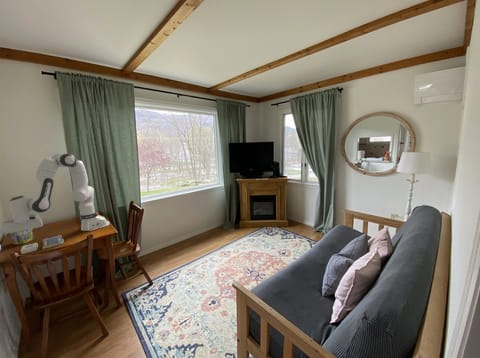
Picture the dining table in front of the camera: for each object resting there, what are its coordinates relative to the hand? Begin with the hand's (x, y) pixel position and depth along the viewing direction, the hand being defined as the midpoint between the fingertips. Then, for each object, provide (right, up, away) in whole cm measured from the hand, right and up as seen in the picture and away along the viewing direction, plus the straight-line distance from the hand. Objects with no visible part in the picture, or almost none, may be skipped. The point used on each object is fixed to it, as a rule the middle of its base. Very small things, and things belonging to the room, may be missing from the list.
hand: (26, 235), depth 154 cm
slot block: (+1, -12, +2) cm, 12 cm away
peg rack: (+12, -10, +10) cm, 18 cm away
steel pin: (0, -3, +1) cm, 3 cm away
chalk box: (-18, -10, +16) cm, 26 cm away
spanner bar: (+11, -9, +10) cm, 18 cm away
